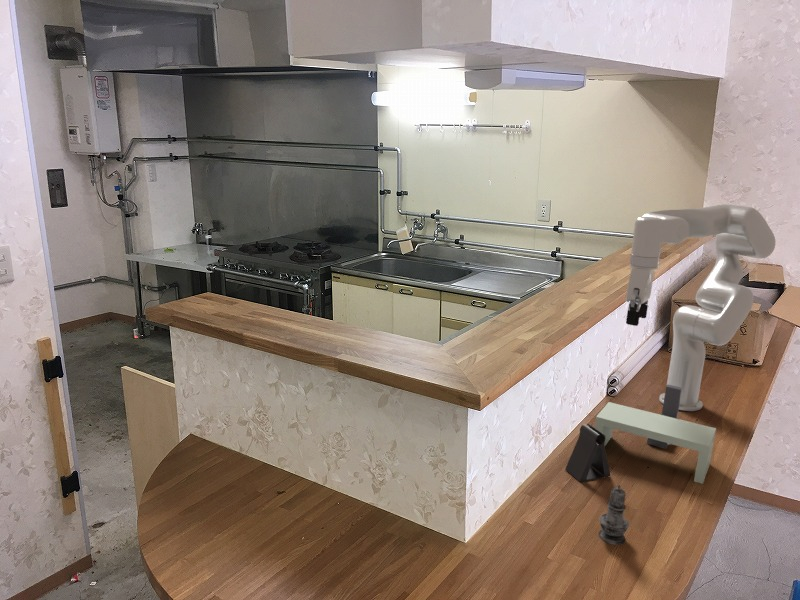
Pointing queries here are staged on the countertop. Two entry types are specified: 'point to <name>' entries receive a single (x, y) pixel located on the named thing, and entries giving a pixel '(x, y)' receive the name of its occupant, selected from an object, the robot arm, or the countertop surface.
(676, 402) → the gray l-shaped block
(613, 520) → the grey tall tapered piece
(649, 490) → the countertop surface
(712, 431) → the low shelf
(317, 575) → the countertop surface
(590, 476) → the black wedge-shaped stand
